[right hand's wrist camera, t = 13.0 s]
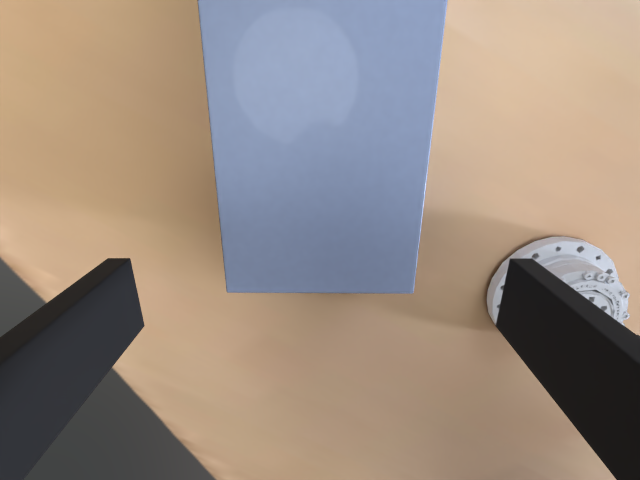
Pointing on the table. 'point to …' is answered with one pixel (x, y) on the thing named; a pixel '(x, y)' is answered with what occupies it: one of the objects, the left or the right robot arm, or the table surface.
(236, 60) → the cabinet
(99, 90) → the table surface
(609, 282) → the mechanical component
